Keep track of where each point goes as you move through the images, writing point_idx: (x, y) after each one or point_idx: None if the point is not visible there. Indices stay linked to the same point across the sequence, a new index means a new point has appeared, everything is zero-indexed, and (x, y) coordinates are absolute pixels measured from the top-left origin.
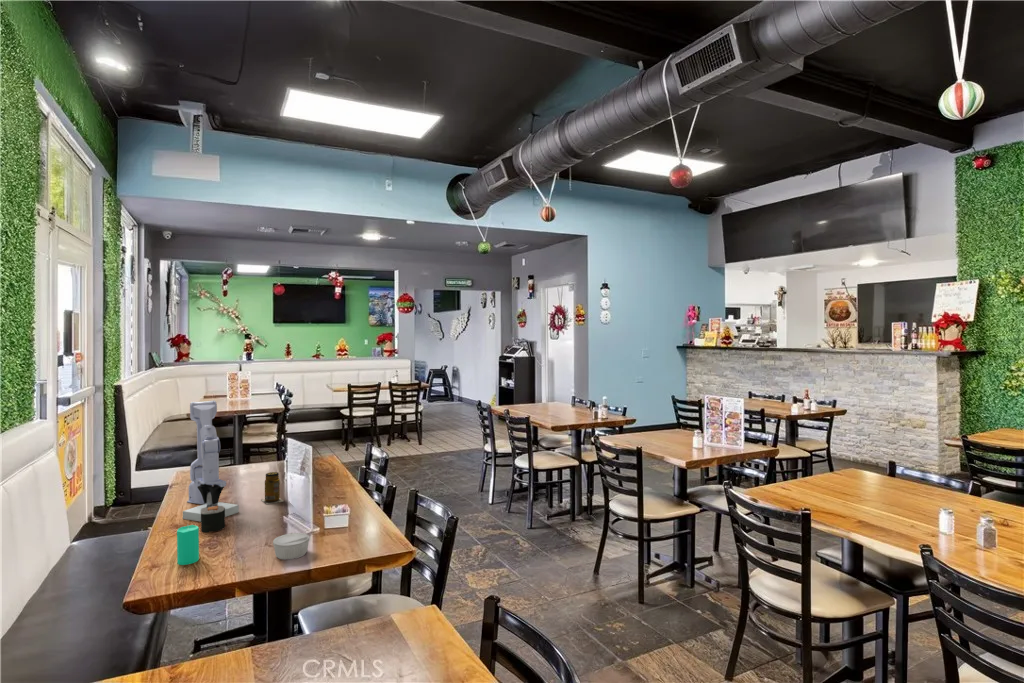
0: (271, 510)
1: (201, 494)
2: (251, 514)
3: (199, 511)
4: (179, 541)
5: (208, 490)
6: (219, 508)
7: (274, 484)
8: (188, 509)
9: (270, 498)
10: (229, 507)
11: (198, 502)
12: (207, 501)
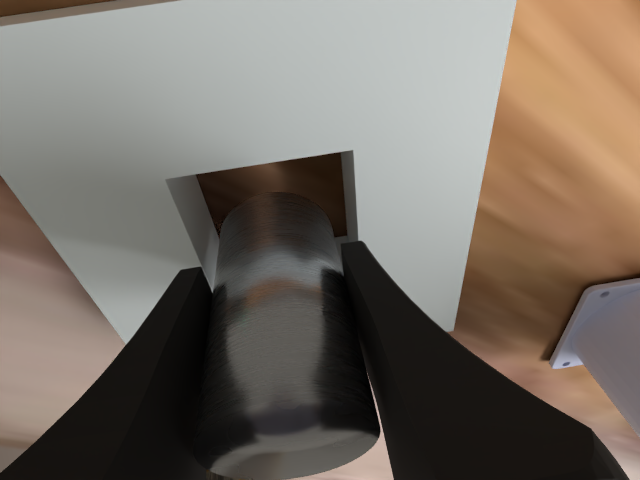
0: (30, 420)
1: (430, 319)
2: (21, 346)
3: (255, 87)
4: None
5: (388, 437)
6: None
7: None
8: (498, 64)
9: (211, 476)
10: (124, 324)
11: (635, 289)
12: (278, 265)
